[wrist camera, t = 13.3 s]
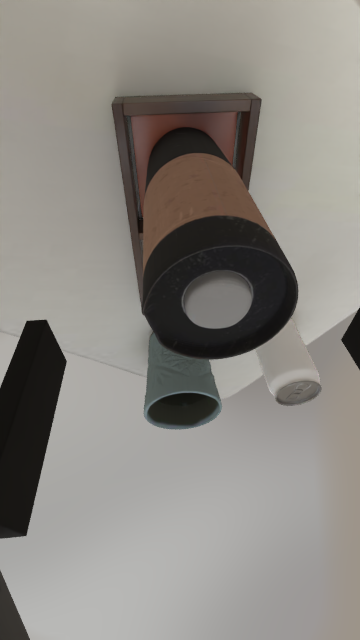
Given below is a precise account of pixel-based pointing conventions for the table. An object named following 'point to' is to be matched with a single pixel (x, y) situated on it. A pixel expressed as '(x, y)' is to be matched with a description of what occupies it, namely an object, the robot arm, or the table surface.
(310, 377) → the can
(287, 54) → the table surface
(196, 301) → the travel mug
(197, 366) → the green tapered cup
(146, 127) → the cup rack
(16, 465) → the robot arm
